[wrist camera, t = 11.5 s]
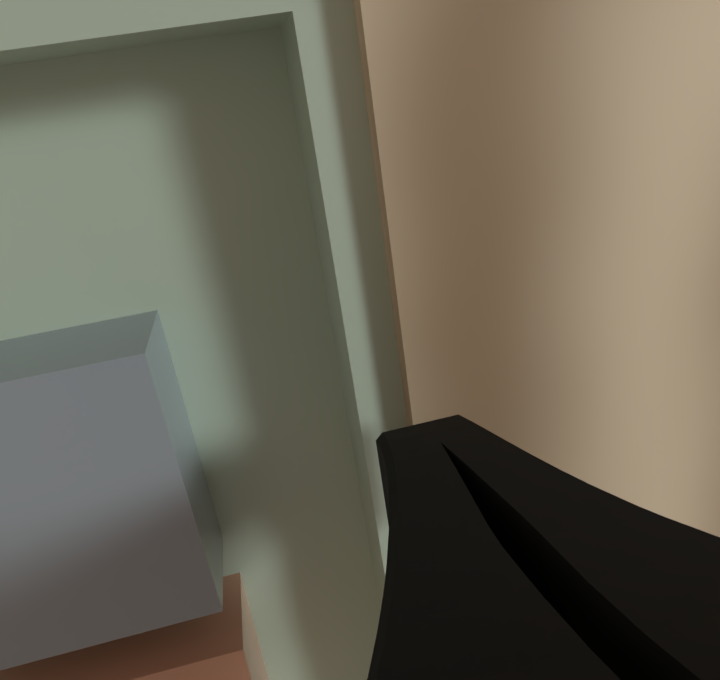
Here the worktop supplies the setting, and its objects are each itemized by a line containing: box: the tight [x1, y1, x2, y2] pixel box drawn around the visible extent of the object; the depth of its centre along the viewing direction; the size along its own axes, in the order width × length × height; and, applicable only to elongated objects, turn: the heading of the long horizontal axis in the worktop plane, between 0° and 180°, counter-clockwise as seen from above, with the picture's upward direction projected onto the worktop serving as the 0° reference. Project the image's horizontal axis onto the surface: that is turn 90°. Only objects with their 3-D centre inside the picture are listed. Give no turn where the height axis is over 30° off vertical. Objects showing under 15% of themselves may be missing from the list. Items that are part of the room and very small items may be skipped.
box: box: [0, 0, 408, 680], centre depth 12 cm, size 13×21×3 cm, turn 8°
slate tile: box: [0, 310, 223, 670], centre depth 10 cm, size 5×5×2 cm
